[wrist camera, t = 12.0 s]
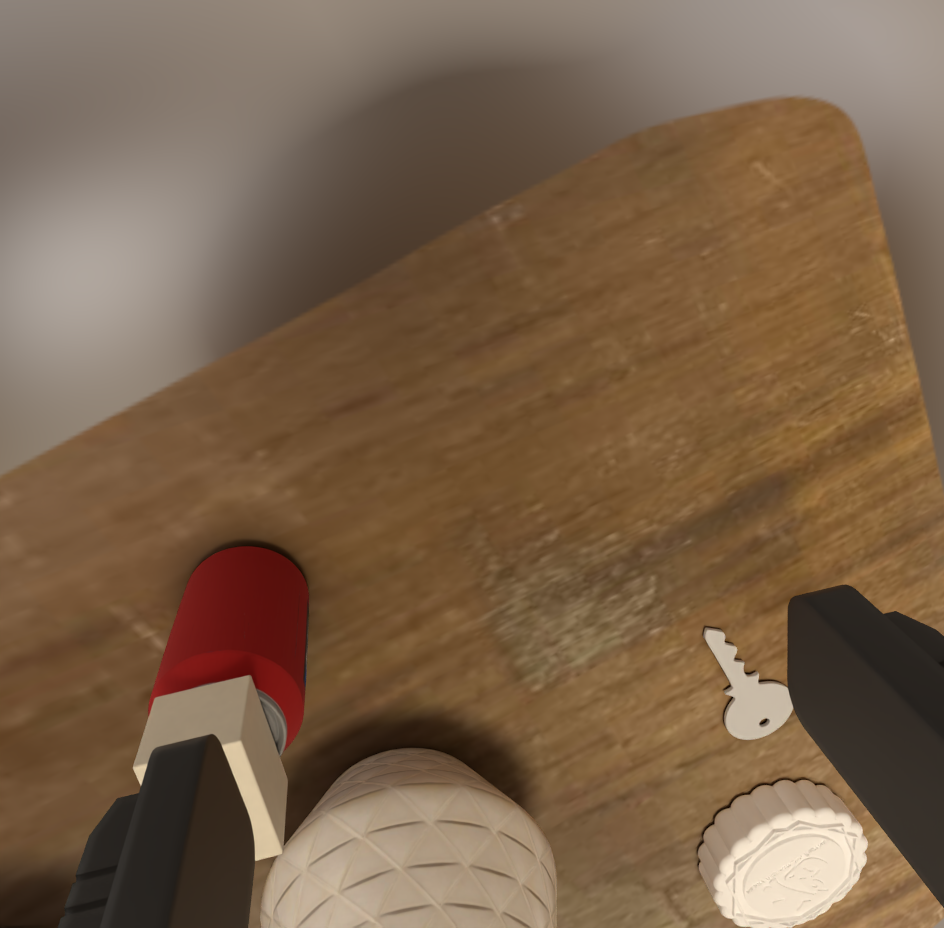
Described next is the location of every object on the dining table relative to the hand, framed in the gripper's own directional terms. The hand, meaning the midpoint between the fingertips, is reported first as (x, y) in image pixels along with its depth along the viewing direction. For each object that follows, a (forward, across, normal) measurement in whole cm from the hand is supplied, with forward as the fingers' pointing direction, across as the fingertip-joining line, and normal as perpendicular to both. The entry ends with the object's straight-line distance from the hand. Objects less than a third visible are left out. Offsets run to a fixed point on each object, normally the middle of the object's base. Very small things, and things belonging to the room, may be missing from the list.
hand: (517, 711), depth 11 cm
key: (+31, -18, +30) cm, 47 cm away
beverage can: (+31, +11, +15) cm, 37 cm away
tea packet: (+19, +11, +15) cm, 27 cm away
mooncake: (+31, -20, +46) cm, 59 cm away
